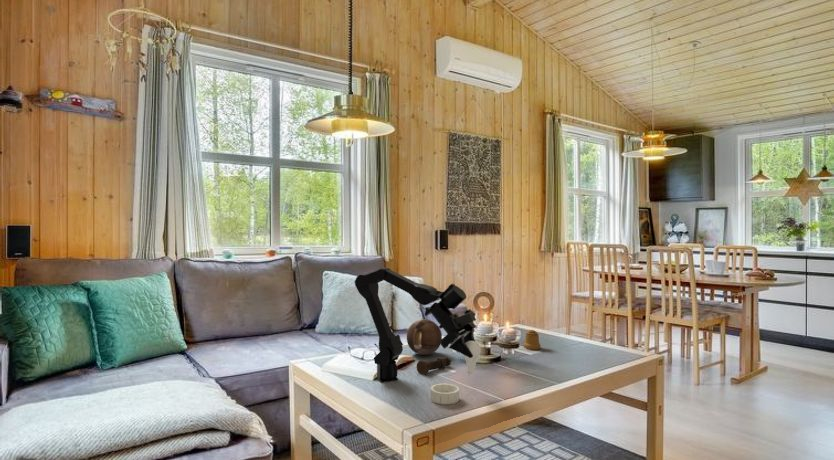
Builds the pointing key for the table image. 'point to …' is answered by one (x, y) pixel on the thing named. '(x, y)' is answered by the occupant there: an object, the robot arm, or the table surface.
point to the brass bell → (532, 340)
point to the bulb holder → (444, 394)
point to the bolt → (432, 365)
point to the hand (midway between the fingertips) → (475, 354)
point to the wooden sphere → (424, 337)
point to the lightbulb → (475, 352)
